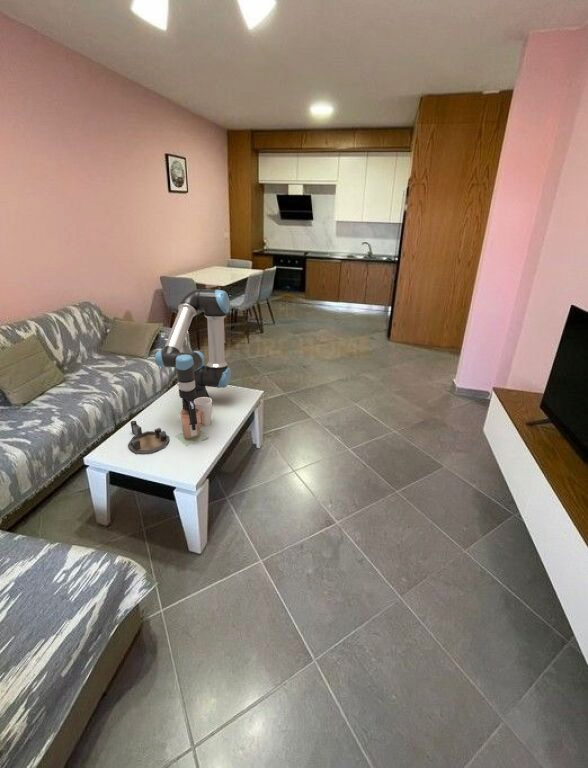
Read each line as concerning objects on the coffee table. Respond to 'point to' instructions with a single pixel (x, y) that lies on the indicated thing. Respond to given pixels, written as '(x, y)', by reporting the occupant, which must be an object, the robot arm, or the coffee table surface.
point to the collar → (138, 433)
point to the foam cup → (204, 408)
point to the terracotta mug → (186, 422)
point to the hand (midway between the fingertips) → (191, 430)
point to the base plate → (149, 443)
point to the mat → (192, 440)
